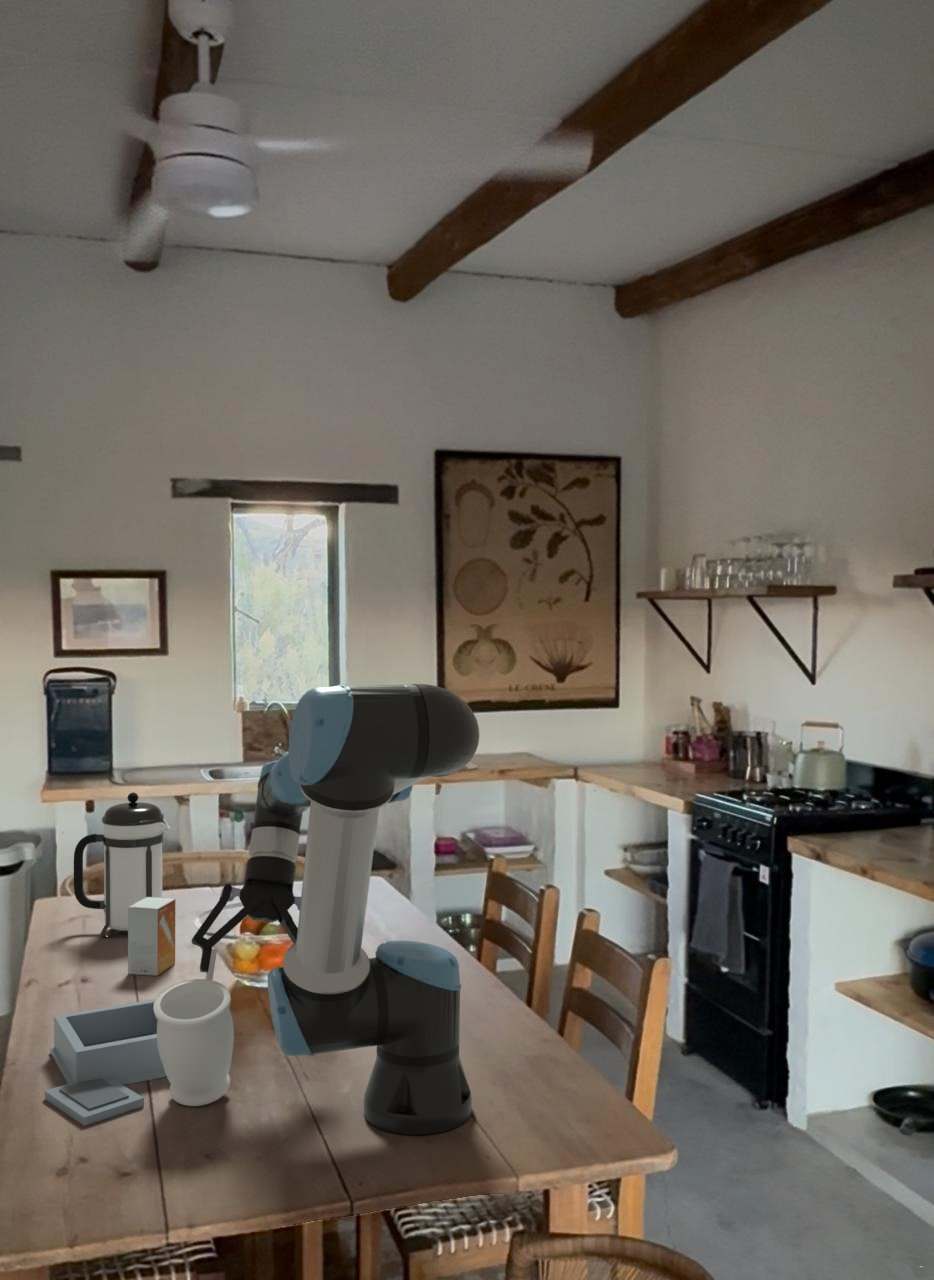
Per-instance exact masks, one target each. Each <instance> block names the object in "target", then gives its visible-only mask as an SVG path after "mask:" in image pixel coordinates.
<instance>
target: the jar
mask: <svg viewBox="0 0 934 1280" xmlns="http://www.w3.org/2000/svg"><path fill="white" fill-rule="evenodd" d="M231 997H232V996H231V994H230V990H229V989H228V987H226V986H225V985H224V984H223V983H221V982H219V981H216V980H207V979H206V978H197V979H189V980H183V981H180V982H178V983H175V984H172V985H171V986H168V987H167V988H165V989H164V990H163V991H162V992H160V994H159V995H158V996H157V997H156V998H155V999H156V1000H155V1002H154V1013H155V1016H156V1018H157V1020H158V1022H157V1045H158V1051H159V1055H160V1058H161V1061H162V1063H163V1067H164V1071H165V1074H166V1076H167V1077H166V1078H167V1080H168V1081H169V1083H170V1086H169V1093H170V1096H171V1097H172V1099H173V1100H174V1101H175V1102H176V1103H178V1104H181V1105H183V1106H187V1107H200V1106H205V1105H209V1104H211V1103H214V1102H216V1101H218V1100H219V1099H220V1098H222V1097H223V1096H224V1095H225V1094H226V1093H228V1091H229V1088H230V1086H231V1077H230V1074H229V1071H230V1068H231V1066H232V1065H231V1064H232V1059H233V1048H234V1042H235V1041H234V1038H235V1034H234V1032H235V1029H234V1022H233V1017H232V1014H231V1010H230V1006H231V1003H232V998H231Z"/></svg>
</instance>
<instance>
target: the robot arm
mask: <svg viewBox="0 0 934 1280" xmlns="http://www.w3.org/2000/svg"><path fill="white" fill-rule="evenodd" d="M293 711H294V712H293V715H292V718H291V724H290V730H289V736H288V743H289V748H288V752H287V753H285V754H284V755H282V756H281V757H280V758H279V759H278V760H272V761H270V762H267V763H265V764H264V765H263V766H262V768H261V770H260V771H261V772H260V776H259V780H258V782H257V794H256V801H255V809H254V810H255V811H254V818H253V825H252V830H251V837H250V843H249V848H248V855H249V857H250V858H248V859H247V862H246V869H245V874H244V876H245V877H244V881H243V886H242V888H237V887H234V886H232V884H231V883H226V884H225V885H224V886H223V888H222V889H221V892H220V897H219V899H218V901H217V903H216V904H215V906H213V909H212V910H211V911H210V913H209V914H208V915H207V917H206V918H205V920H204V921H203V922H202V923H201V926H200V927H199V928H198V930H197V931H196V933H195V934H194V936H193V937H192V938H191V944H192V945H194V946H197V947H200V949H201V952H202V953H201V956H200V964H199V972H200V973H205V979H207V980H213V979H214V972H215V965H216V960H217V953H218V949H217V948H216V949H215V948H214V946H216V944H218V942H221V940H222V939H223V938H224V937H225V936H226V935H228V934H229V933H230V932H231V931H232V930H234V928H235V927H237V926H238V925H239V924H240V923H241V922H243V920H245V919H246V917H247V916H248V917H249V918H250V919H252V921H264V922H266V923H271V924H272V923H274V922H277V921H278V922H279V924H280V926H281V927H282V928H283V929H284V931H285V932H286V934H287V935H288V937H289V939H290V940H291V942H292V943H293V944H291V945H290V946H289V947H288V948H287V949H286V952H285V953H284V956H283V960H282V967H281V966H276V967H274V968H272V969H271V968H270V970H269V971H268V973H267V979H266V980H267V981H266V982H267V992H268V1000H269V1008H270V1014H271V1020H272V1026H273V1030H274V1035H275V1039H276V1042H277V1045H278V1047H279V1050H280V1051H281V1052H282V1054H284V1055H286V1056H290V1057H300V1056H309V1057H311V1056H315V1055H320V1054H326V1053H333V1052H340V1051H341V1052H342V1051H346V1050H347V1051H348V1050H354V1049H361V1048H370V1047H376V1057H375V1061H374V1065H373V1068H372V1070H371V1074H370V1077H369V1080H368V1083H367V1086H366V1089H365V1092H364V1096H363V1114H364V1115H363V1116H364V1117H365V1120H366V1121H368V1122H369V1123H370V1124H371V1125H373V1126H374V1127H375V1128H378V1129H379V1130H380V1129H381V1130H384V1131H387V1132H390V1133H395V1134H399V1135H401V1134H402V1135H411V1136H413V1135H414V1136H416V1135H430V1134H433V1135H434V1134H438V1133H443V1132H446V1131H450V1130H452V1129H453V1130H454V1129H455V1128H458V1127H459V1126H461V1125H463V1124H464V1123H465V1122H467V1121H468V1120H469V1118H470V1116H471V1115H472V1110H473V1109H472V1103H473V1102H472V1091H471V1089H470V1085H469V1082H468V1079H467V1076H466V1073H465V1069H464V1066H463V1064H462V1060H461V1058H460V1030H461V1029H460V1026H461V1025H460V1022H461V1021H460V1020H461V1019H460V1016H461V1015H460V1014H461V1013H460V1011H461V1010H460V1008H461V1007H460V1006H461V1005H460V1004H461V995H460V994H461V989H462V985H461V977H460V965H459V961H458V959H457V957H456V956H455V955H454V954H453V953H452V952H451V951H449V950H448V949H446V948H443V947H441V946H439V945H434V944H430V943H426V942H421V941H412V940H391V941H387V942H382V943H380V944H379V945H378V946H377V949H376V951H375V957H372V958H371V957H370V958H369V956H368V954H367V952H366V951H365V950H364V949H363V948H362V944H363V937H364V929H365V920H366V912H367V906H368V905H367V904H368V897H369V891H370V890H369V889H370V881H371V873H372V866H373V858H374V850H375V842H376V836H377V827H378V819H379V812H380V809H381V808H382V807H384V806H385V805H387V804H390V803H391V804H392V803H394V802H395V803H396V802H403V801H405V800H407V799H409V797H410V795H411V793H412V790H413V787H414V786H413V785H415V784H417V783H419V782H421V781H423V780H425V779H427V778H428V777H431V778H442V777H446V776H450V775H451V774H454V773H456V772H458V771H460V770H461V769H462V768H464V767H465V766H467V765H468V764H469V762H471V761H472V759H473V757H474V756H475V754H476V752H477V749H478V746H479V743H480V727H479V723H478V719H477V717H476V716H475V713H474V711H473V710H472V709H471V707H470V706H469V705H468V703H467V702H465V700H464V699H462V698H461V697H460V696H459V695H457V694H455V693H454V692H452V691H450V690H449V689H447V688H443V687H440V686H437V685H432V684H426V683H411V684H388V685H387V684H379V685H377V684H376V685H373V684H372V685H347V684H344V683H343V684H335V685H331V686H324V687H323V686H320V687H314V688H313V687H312V688H311V689H309V690H307V691H306V692H305V693H304V694H303V695H302V696H301V697H300V698H299V701H298V702H297V703H296V707H295V709H294V710H293ZM305 808H309V814H308V815H309V816H308V826H307V836H306V837H307V838H306V846H305V856H304V857H305V858H304V867H303V874H302V885H301V894H300V895H301V896H295V895H294V882H295V873H296V867H297V865H296V863H294V862H296V860H298V853H299V852H298V850H299V842H300V835H301V826H302V820H303V812H304V810H305ZM236 897H238V898H239V901H240V902H241V904H242V906H243V907H242V908H241V909H240V910H239V911H238V912H237V913H236V914H235V915H234V916H233V917H231V918H230V919H229V920H228V921H227V922H226V923H225V924H223V926H221V927H220V928H219V929H218V930H217V931H216V932H215V933H214V934H212V935H211V936H210V937H209V938H205V935H206V934H207V933H208V931H209V930H210V928H211V927H212V925H213V924H214V923H215V921H216V920H217V918H219V917H218V916H219V915H220V914H221V912H222V911H223V909H224V908H225V907H226V905H227V903H228V902H232V901H233V900H235V898H236ZM294 905H295V906H296V907H297V910H298V911H299V914H298V915H299V916H298V924H297V925H296V923H295V921H294V919H293V916H292V915H291V914H290V912H289V909H290V908H291V907H292V906H294ZM213 981H214V980H213Z"/></svg>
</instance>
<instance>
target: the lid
mask: <svg viewBox="0 0 934 1280" xmlns="http://www.w3.org/2000/svg"><path fill="white" fill-rule="evenodd" d="M44 1100H45V1101H47V1102H48V1103H50V1104H51V1105H53V1106H54V1107H56V1108H57V1109H58V1110H60V1111H62V1112H63V1113H64V1114H66V1115H68V1117H70V1118H72V1119H73V1120H75V1121H76V1122H77V1123H79V1124H80V1125H82V1126H83V1127H86V1126H88V1125H91V1124H95V1123H97V1122H101V1121H104V1120H107V1119H109V1118H113V1117H116V1116H119V1115H122V1114H125V1113H128V1112H130V1111H134V1110H136V1109H140V1108H142V1107H145V1098H144V1096H141V1094H138V1093H137V1092H135V1091H133V1090H132V1089H130V1088H128V1087H127V1086H126V1085H122V1084H120V1083H118V1082H117V1081H115V1080H113V1079H112V1078H110V1079H105V1080H103V1079H101V1078H99V1079H94V1080H89V1081H84V1082H80V1083H77V1084H76V1083H75V1082H72V1083H69V1084H67V1083H66V1084H62V1085H60V1086H57V1087H53V1088H50V1089H46V1090H44Z"/></svg>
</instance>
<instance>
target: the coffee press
mask: <svg viewBox="0 0 934 1280" xmlns="http://www.w3.org/2000/svg"><path fill="white" fill-rule="evenodd" d="M127 801H128V802H124V803H119V804H115V805H113V806H110V807H109V808H107V809H106V811H105V813H104V816H102V817H101V822H102V825H103V834H98V833H90V834H87V835H86V836H84V837H82V838H80V839H79V841H78V843H77V844H76V846H75V849H74V851H73V852H74V853H73V854H74V855H73V891H74V896H75V899H76V900H77V901H78V903H79V904H80V905H81V906H82V907H84V908H88V909H93V910H103V912H104V923H105V924H104V926H103V928H102V930H101V932H100V935H101V937H102V936H103V937H102V938H105V935H107V936H110V937H111V935H113V933H114V932H116V931H122V932H125V931H126V932H128V907H130V906H132V905H133V904H135V903H136V902H138V901H141V900H143V899H144V898H146V897H156V898H163V842H164V832H163V831H166V830H167V831H169V830H170V829H171V827H170V825H169V824H168V822H167V821H166V819H165V818H164V817H165V816H164V814H163V813H162V811H161V809H160V807H159V806H157V805H156V804H152V803H149V802H148V803H147V802H137V801H139V794H138V793H136V792H131V793H129V794H128V796H127ZM93 843H102V844H103V882H104V883H103V885H104V886H103V891H104V893H103V894H104V895H103V897H104V898H103V900H95V899H94V900H93V899H90V898H88V897H87V896H86V894H85V891H84V851H85V849H86V847H87V845H89V844H93ZM109 928H110V930H109V931H108V929H109ZM107 931H108V932H107Z"/></svg>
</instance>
